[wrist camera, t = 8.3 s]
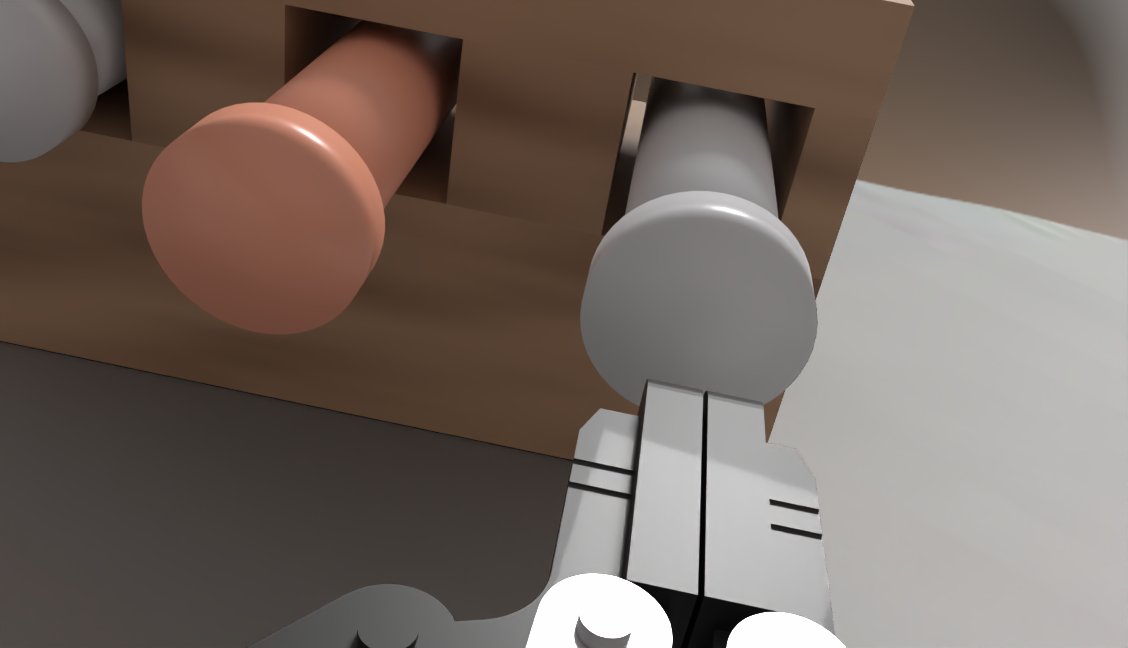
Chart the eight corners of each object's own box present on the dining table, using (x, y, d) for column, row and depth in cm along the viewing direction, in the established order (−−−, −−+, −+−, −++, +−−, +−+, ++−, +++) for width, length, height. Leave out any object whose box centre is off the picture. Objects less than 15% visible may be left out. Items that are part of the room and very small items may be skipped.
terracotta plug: (360, 353, 16) (372, 150, 15) (150, 310, 17) (132, 102, 15) (498, 111, 27) (515, -27, 25) (366, 85, 27) (373, -54, 25)
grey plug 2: (781, 440, 16) (849, 245, 14) (563, 395, 16) (602, 196, 14) (757, 162, 26) (795, 27, 25) (623, 136, 27) (650, -1, 25)
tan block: (749, 496, 25) (914, 5, 18) (-34, 333, 25) (-137, -195, 19) (742, 312, 32) (857, -79, 26) (141, 190, 33) (110, -220, 26)
